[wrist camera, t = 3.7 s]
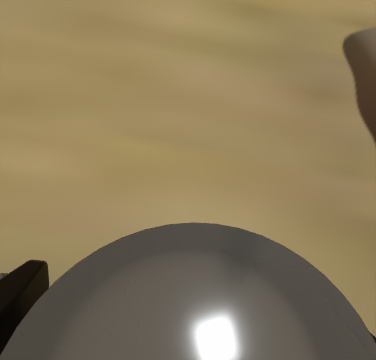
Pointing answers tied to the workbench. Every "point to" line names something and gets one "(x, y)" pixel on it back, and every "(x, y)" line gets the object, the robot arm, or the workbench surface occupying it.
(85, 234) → the workbench surface
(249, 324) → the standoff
